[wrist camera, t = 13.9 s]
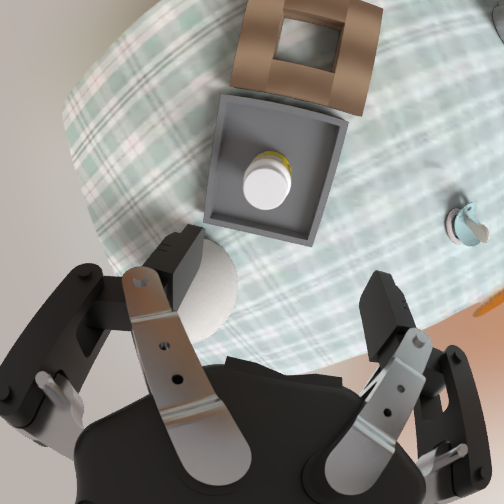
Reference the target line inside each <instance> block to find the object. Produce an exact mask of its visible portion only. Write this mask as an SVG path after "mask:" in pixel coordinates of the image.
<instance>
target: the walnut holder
mask: <svg viewBox="0 0 504 504" xmlns="http://www.w3.org/2000/svg"><path fill="white" fill-rule="evenodd" d="M382 14H383V8H380V7H377V6H375V5H372V4H369V3H367V2H364V1H361V0H248V3H247V7H246V11H245V15H244V19H243V24H242V28H241V33H240V37H239V42H238V46H237V51H236V56H235V61H234V66H233V71H232V76H231V81H230V86H231V87H234V88H240V89H247V90H253V91H259V92H265V93H270V94H275V95H280V96H285V97H290V98H294V99H299V100H303V101H307V102H311V103H315V104H319V105H322V106H326V107H329V108H333V109H336V110H340V111H343V112H346V113H349V114H352V115H356V116H361V117H362V114H363V110H364V106H365V102H366V97H367V93H368V89H369V84H370V80H371V75H372V70H373V65H374V60H375V55H376V50H377V45H378V39H379V33H380V27H381V21H382ZM284 18H289V19H294V20H300V21H304V22H309V23H313V24H318V25H322V26H326V27H329V28H333V29H337V30H340V33H339V38H338V43H337V48H336V53H335V58H334V62H333V67H332V72H328V71H324V70H320V69H316V68H312V67H308V66H304V65H300V64H295V63H290V62H285V61H280V60H275V57H276V53H277V48H278V43H279V39H280V34H281V30H282V25H283V20H284Z"/></svg>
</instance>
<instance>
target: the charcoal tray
mask: <svg viewBox="0 0 504 504" xmlns="http://www.w3.org/2000/svg"><path fill="white" fill-rule="evenodd" d="M348 123H349V122H348V121H345V120H342V119H339V118H335V117H332V116H328V115H325V114H321V113H317V112H314V111H310V110H306V109H302V108H297V107H293V106H289V105H284V104H279V103H274V102H269V101H264V100H258V99H252V98H246V97H240V96H232V95H225V94H221V97H220V103H219V109H218V115H217V121H216V127H215V134H214V140H213V147H212V154H211V161H210V169H209V176H208V184H207V193H206V201H205V210H204V219H203V223H207V224H212V225H216V226H221V227H225V228H230V229H234V230H239V231H243V232H248V233H252V234H257V235H261V236H265V237H270V238H274V239H278V240H283V241H287V242H291V243H296V244H300V245H304V246H308V247H312V246H313V243H314V240H315V237H316V233H317V230H318V227H319V224H320V221H321V218H322V215H323V212H324V208H325V205H326V202H327V199H328V195H329V192H330V189H331V185H332V182H333V178H334V175H335V172H336V168H337V165H338V161H339V157H340V154H341V150H342V146H343V143H344V139H345V135H346V131H347V127H348ZM266 150H275V151H278V152H280V153H282V154H284V155H285V156H286V157H287V159H288V160H289V162H290V165H291V188H290V191H289V193H288V195H287V196H286V197H285V199H284V201H283V202H282V203H281V204H280V205H279V206H278V207H276V208H274V209H270V210H262V209H258V208H256V207H254V206H252V205H251V204H250V203H249V202H248V201H247V199H246V198H245V196H244V192H243V178H244V174H245V171H246V169H247V168H248V166H249V165H250V164H251V162H252V161H253V159H254V158H255V157H256V156H257V155H258V154H259V153H261V152H263V151H266Z"/></svg>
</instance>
